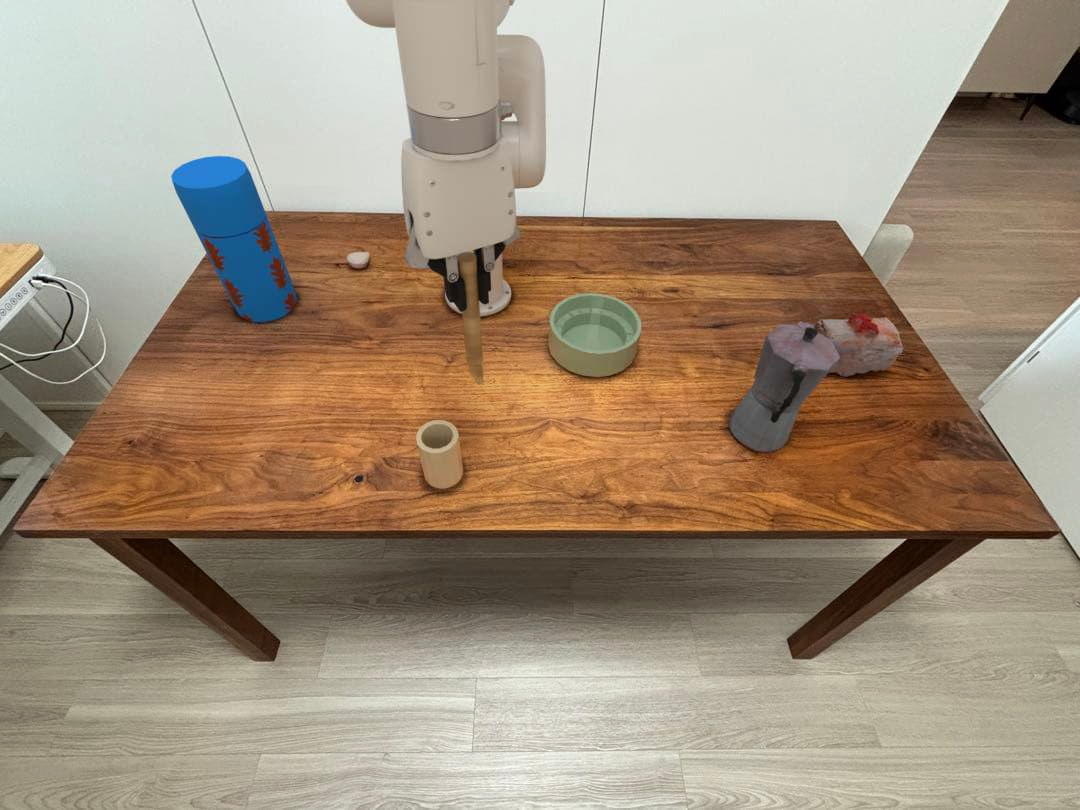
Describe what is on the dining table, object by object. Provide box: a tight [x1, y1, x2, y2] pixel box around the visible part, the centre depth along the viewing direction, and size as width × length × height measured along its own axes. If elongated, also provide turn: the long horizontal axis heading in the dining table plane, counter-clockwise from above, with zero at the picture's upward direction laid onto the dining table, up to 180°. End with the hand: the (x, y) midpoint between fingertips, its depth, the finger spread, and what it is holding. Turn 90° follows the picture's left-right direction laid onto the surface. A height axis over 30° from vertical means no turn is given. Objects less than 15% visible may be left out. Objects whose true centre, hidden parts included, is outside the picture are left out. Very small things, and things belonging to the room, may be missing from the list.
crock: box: [415, 419, 464, 489], centre depth 73 cm, size 5×6×9 cm
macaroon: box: [346, 251, 370, 270], centre depth 108 cm, size 4×5×2 cm
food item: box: [813, 313, 904, 378], centre depth 90 cm, size 14×8×10 cm, turn 96°
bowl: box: [547, 292, 642, 378], centre depth 92 cm, size 15×15×6 cm
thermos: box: [170, 155, 298, 323], centre depth 90 cm, size 11×11×25 cm
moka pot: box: [728, 320, 840, 453], centre depth 76 cm, size 10×15×20 cm, turn 161°
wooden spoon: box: [457, 252, 485, 386], centre depth 61 cm, size 3×2×18 cm
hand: (469, 299), depth 59 cm, fingers closed on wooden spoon, 2 cm apart
